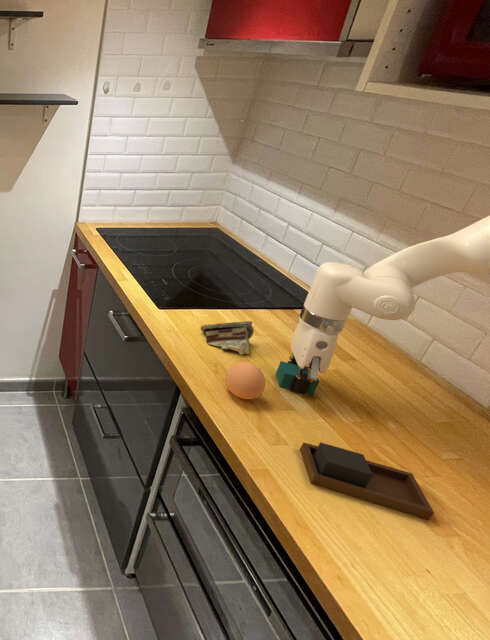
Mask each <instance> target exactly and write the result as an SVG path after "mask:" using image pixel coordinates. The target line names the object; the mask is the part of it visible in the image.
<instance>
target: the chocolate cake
mask: <svg viewBox="0 0 490 640" xmlns="http://www.w3.org/2000/svg"><path fill="white" fill-rule="evenodd" d="M200 331H201V332H202V333H204V334H205V338H206V343H207V344H208V345H211V346H215V347H219V348H221V350H222V351H223V352H227V351H228V350H230V351H235V352H237V353H238V354H239V355H241V356H243V355H244V354H245V355H249V353H250V339H251V338H252V337H253V336H254V332H255V331H254V327H253V321H252V320H247V321H235V322H225V323H215V324H211V323H208V324H202V325H201V326H200Z"/></svg>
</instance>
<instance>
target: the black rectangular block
mask: <svg viewBox="0 0 490 640" xmlns="http://www.w3.org/2000/svg"><path fill="white" fill-rule="evenodd" d="M317 446H318V448H317V450H316V452H315V454H314V456H313V459H314V462H315V465H316V468H317V471H318V474H320V475H323V476H326V477H330V478H333V479H336V480H339V481H343V482H346V483H349V484H353V485H356V486H359V487H362V488H366V486H367V484H368V483H369V481H370V479H371V478H372V476H373V474H372V472H371V470H370V468H369V466H368V463H367V461H368V460H367V459H366V457H365V455H364V454H363V453H360V452H357V451H353V450H348V449H345V448H342V447H339V446H334V445H331V444H328V443H324V442H319V444H318V445H317ZM366 460H367V461H366Z"/></svg>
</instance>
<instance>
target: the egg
mask: <svg viewBox="0 0 490 640" xmlns="http://www.w3.org/2000/svg"><path fill="white" fill-rule="evenodd" d="M224 377H225V378H224V381H225V385H226V387H227V389H228V391H229V392H230V393H232V395H233V396H234V397H235V396H236V397H237V398H240V399H243V400H253V399H256V398H258V397H260V396H261V395H262V393H263V392H264V390H265V388H266V378H265V375H264V373H263V371H262V369H261V368H260V367H259V366H258V365H256V363H253V362H250V361H245V360H243V361H238V362H236V363H234V364H232V365H231V366H230V367H229V368H228V369H227V370H226V373H225V376H224Z"/></svg>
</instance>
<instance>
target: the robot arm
mask: <svg viewBox="0 0 490 640" xmlns="http://www.w3.org/2000/svg"><path fill="white" fill-rule="evenodd" d="M456 273H473V274H483V275H484V274H485V275H487V274H489V275H490V215H487V216H485V217H484V218H481V219H480V220H477V221H476V222H473V223H472V224H470V225H468V226H466V227H464V228H462V229H459V230H457V231H456V232H453V233H451V234H448V235H445V236H441V237H437V238H433V239H430V240H427V241H424V242H420V243H417V244H414V245H411V246H408V247H405V248H403V249H401V250H399V251H397V252H395V253H393V254H391V255H389V256H387V257H385V258H384V259H381V260H380V261H377V262H376V263H374V264H372V265H371V266H369V267H368V268H367V269H365V270H364V271H362V270H360V269H359V268H357V267H355V266H353V265H351V264H347V263H344V262H338V261H327V262H324V263H321V264H320V265H319V267H318V268H317V270H316V273H315V275H314V278H313V280H312V283H311V285H310V287H309V291H308V293H307V295H306V298H305V301H304V303H303V305H302V309H301V310H300V313H299V316H298V320H299V322H298V324H297V325H296V328H295V330H294V332H293V335H292V337H291V340H290V349H291V354H290V355H289V358H288V361H287V363H291V364H295V365H298V366H299V367H298V371H297V374H296V376H295V375H294V377H293V379H292V381H291V384H290V386H289V389H288V390H289V391H290V392H293V393H297V394H302V395H306V393H307V390H308V388H309V386H310V384H311V382H312V381H313V380H314V381H316V380H317V377H318V375H319V373H320V374H322V375H325V374H326V373H327V371H328V369H329V367H330V365H331V362H332V359H333V356H334V353H335V350H336V348H337V343H338V338H339V334H341V333H342V332H343V329H344V327H345V325H346V323H347V321H348V319H349V316H350V314H351V312H352V309H355V310H358V311H361V312H362V313H365V314H368V315H369V316H372V317H375V318H378V319H381V320H384V321H385V320H386V321H401V320H405V319H407V318H408V317H410V316H411V315H412V314H413V313H414V311H415V309H416V298H415V295H414V291H413V288H416V287H418V286H420V285H423V284H424V283H426V282H429V281H431V280H434V279H437V278H438V277H439V278H440V277H442V276H445V275H450V274H456ZM303 369H304V370H308V371H309V372H308V373H302V372H303ZM318 378H319V377H318Z"/></svg>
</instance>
